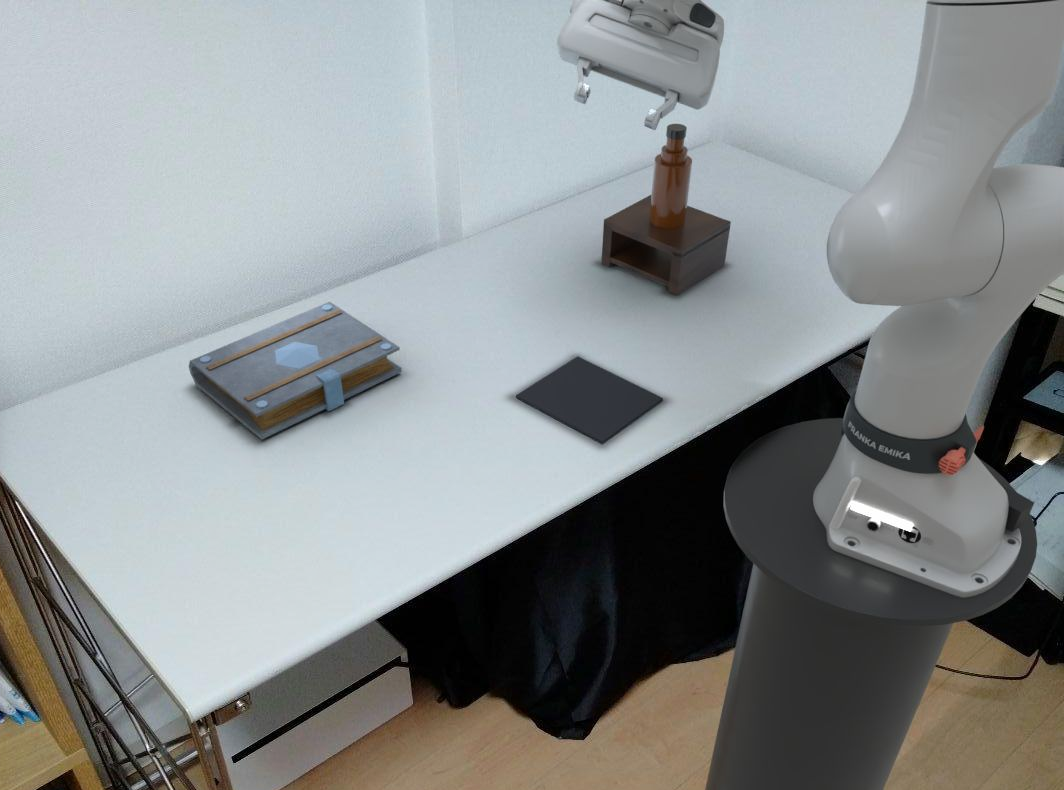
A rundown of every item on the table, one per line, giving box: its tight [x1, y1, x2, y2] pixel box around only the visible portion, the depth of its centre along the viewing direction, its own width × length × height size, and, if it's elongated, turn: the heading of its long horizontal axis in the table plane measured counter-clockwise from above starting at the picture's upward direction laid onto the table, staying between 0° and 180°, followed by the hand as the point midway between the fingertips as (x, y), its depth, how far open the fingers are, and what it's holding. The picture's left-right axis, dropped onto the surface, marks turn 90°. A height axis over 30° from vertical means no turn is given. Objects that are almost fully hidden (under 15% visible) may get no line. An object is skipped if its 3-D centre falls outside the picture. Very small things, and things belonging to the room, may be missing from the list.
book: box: [188, 301, 403, 440], centre depth 131 cm, size 21×16×5 cm
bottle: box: [649, 123, 693, 229], centre depth 146 cm, size 5×5×14 cm
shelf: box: [600, 193, 732, 296], centre depth 153 cm, size 14×12×7 cm
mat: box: [515, 356, 664, 445], centre depth 130 cm, size 14×12×1 cm
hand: (614, 113), depth 128 cm, fingers open, 8 cm apart
